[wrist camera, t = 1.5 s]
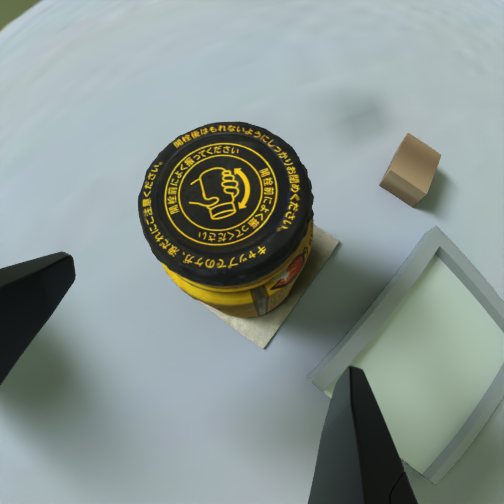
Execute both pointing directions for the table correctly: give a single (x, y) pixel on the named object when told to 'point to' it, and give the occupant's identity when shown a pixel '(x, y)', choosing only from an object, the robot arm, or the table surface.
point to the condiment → (235, 224)
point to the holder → (428, 355)
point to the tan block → (411, 170)
